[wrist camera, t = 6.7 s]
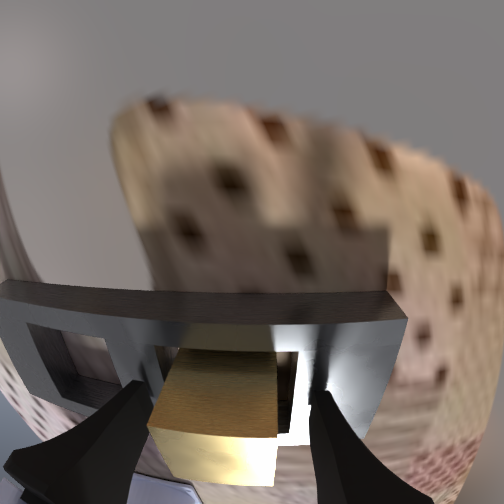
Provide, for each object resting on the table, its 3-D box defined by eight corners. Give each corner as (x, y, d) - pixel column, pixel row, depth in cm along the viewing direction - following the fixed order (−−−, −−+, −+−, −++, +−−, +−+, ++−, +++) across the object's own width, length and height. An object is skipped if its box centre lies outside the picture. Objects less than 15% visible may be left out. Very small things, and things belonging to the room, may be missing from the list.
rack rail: (355, 408, 14) (363, 438, 12) (45, 374, 15) (29, 393, 13) (386, 290, 11) (408, 318, 9) (7, 279, 13) (-16, 294, 11)
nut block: (273, 388, 14) (272, 485, 8) (199, 385, 14) (174, 476, 8) (275, 328, 12) (277, 438, 7) (189, 325, 13) (146, 425, 7)
